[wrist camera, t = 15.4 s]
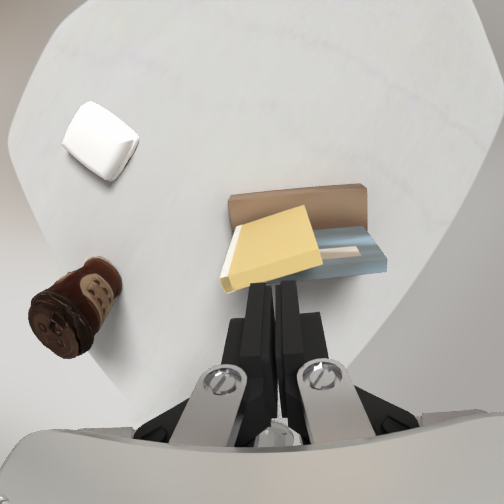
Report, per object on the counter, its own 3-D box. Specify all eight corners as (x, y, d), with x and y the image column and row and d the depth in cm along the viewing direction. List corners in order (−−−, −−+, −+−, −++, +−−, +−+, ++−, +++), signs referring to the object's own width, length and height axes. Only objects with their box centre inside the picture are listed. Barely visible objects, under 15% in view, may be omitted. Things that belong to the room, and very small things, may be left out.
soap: (145, 136, 31) (134, 139, 29) (115, 184, 34) (104, 190, 31) (91, 97, 30) (77, 96, 27) (65, 144, 32) (52, 147, 29)
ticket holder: (361, 259, 35) (388, 309, 26) (242, 270, 37) (231, 324, 27) (360, 183, 32) (394, 212, 22) (230, 195, 33) (213, 228, 24)
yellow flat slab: (235, 226, 31) (218, 278, 21) (303, 204, 30) (318, 247, 20) (240, 238, 31) (226, 293, 22) (307, 216, 30) (323, 264, 21)
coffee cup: (120, 244, 37) (64, 299, 25) (139, 301, 40) (98, 367, 28) (69, 253, 38) (12, 302, 26) (90, 304, 41) (44, 362, 29)
